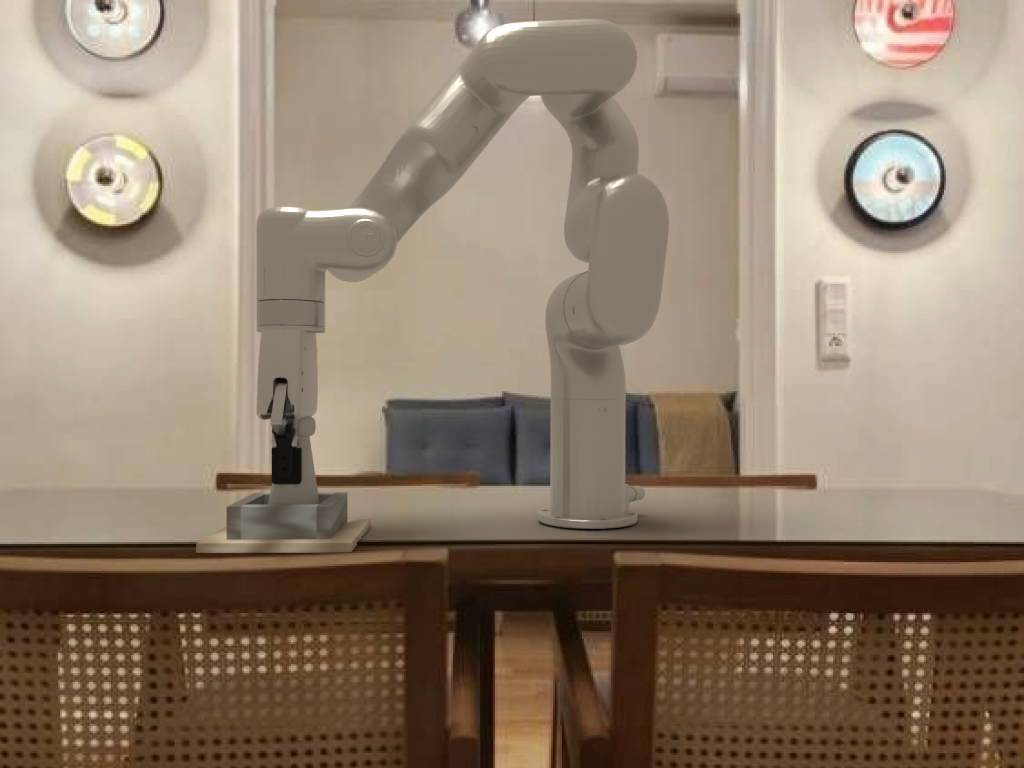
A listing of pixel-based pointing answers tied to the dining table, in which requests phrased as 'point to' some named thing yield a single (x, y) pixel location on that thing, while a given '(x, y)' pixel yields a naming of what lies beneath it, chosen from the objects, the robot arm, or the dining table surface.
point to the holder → (287, 527)
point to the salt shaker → (308, 486)
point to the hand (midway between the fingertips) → (291, 479)
